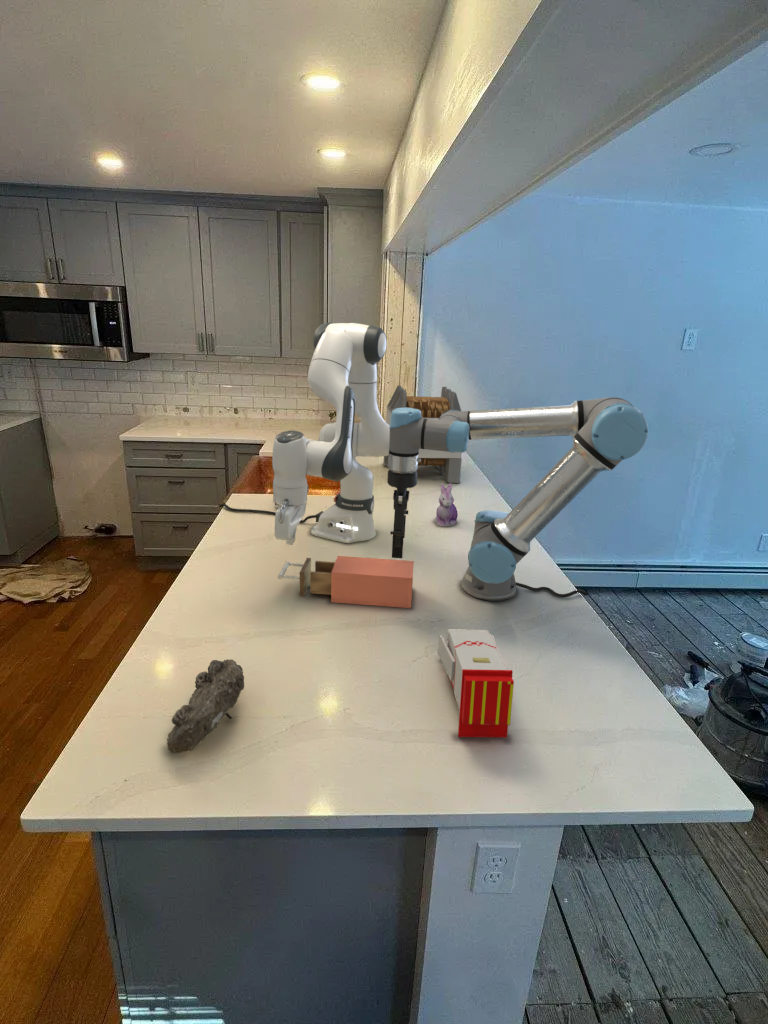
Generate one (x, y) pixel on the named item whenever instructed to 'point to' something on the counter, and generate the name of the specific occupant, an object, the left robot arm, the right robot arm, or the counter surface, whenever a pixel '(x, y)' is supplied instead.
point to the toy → (478, 682)
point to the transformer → (430, 410)
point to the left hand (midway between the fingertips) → (290, 542)
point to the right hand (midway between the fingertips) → (398, 547)
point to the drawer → (312, 576)
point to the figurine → (446, 508)
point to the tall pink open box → (372, 581)
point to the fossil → (206, 705)
